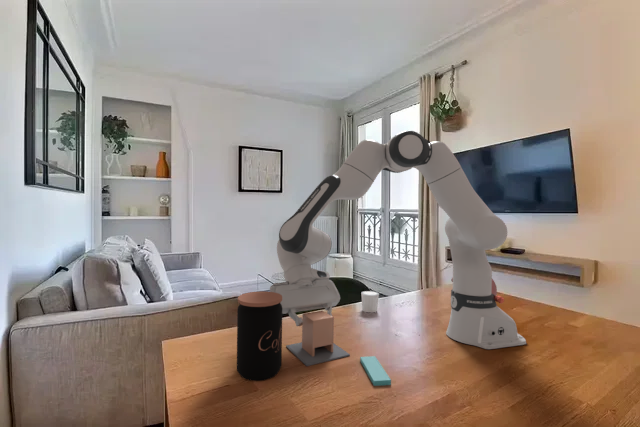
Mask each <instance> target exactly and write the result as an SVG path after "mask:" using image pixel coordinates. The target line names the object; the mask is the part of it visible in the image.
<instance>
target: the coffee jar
mask: <svg viewBox="0 0 640 427" xmlns="http://www.w3.org/2000/svg"><path fill="white" fill-rule="evenodd" d="M281 301H282V295H280V294H279V293H275V292H270V291H250V292H245V293H243V294H239V296H238V297H237V303H238V304H239V305H238V306H237V312H236V313H237V315H236V316H237V322H236V324H237V326H236V328H237V330H236V332H237V334H236V371H237V373H238V375H240V377H241V378H243V379H244V380H246V381H252V382H255V381H256V382H261V381H266V380H270V379H272V378H273V377H275V376H276V375H277V374H278V373H279V371H280V369H281V368H282V355H283V353H282V351H283V350H282V349H283V348H282V347H283V345H282V344H283V314H282V305H281V304H280V302H281Z"/></svg>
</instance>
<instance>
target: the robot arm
mask: <svg viewBox="0 0 640 427" xmlns="http://www.w3.org/2000/svg"><path fill="white" fill-rule="evenodd" d="M413 168H414V169H416V170H418V172H420V174H421V175H422V176H423V178H424V180H425V183H426V184H427V186H428V187H429V190H430V191H431V194H432V196H433V197H434V199H435V201H436V203H437V205H438V206H439V207H440V208H441V209H442V210H443V211H444V213H446V215H447V216H448V217H449V218H448V219H447V221H446V222H445V224H444V225H445V226H444V231H445V235H446V236H447V239H448V244H449V250H450V255H451V261H452V262H451V263H452V277H453V282H452V289H451V290H450V308H451V309H450V310H451V311H450V316H449V321H448V322H449V323H448V326H447V329H446V332H445V334H446V335H447V337H448V338H450V339H452V340H454V341H457V342H459V343H462V344H466V345H471V346H475V347H479V348H482V349H485V350H494V349H502V348H508V347H517V346H523V345H527V340H526V338H525V337H524V336H523V335H521V334H520V333H518V328H517V324H516V322H515V320H514V319H513V318H512V317H511V316H510V315H509V314H508V313H507V312H505V311H504V310H503V309H501V308H500V307H499V306H497V305H498V304H497V303H499V304H503V303H504V302H505V298H504V296H501V295H499V294H498V295H496V296H495V295H494V294H492V293H491V289H492V279H493V278H492V276H493V269H492V266H491V264H490V263H489V260H488V258H487V257H488V256H487V253H486V251H487V250H488V251H489V250H494V249H497V248H499V247H501V246H502V245H503V244H504V243H505V242H506V240H507V239H508V238H507V237H508V228H507V224H506V223H505V222H504V220H502V218H501V217H498V216H497V215H496V214H495V213H494V212H493V211H492V209H490V208H489V207H488V205H487V204H486V203H485V202H484V200H483V199H482V198H481V197H480V196H479V194H478V193H477V192H476V191H475V189H474V188H473V186H472V184H471V183H470V182H471V181H469V179H468V177H467V174H466V173H465V172H464V170H463V168H462V165H461V164H460V162H459V161H458V159H457V157H456V156H455V154H454V153H453V152H452V150H451V149H450V148H449V147H448V146H447V144H446V143H445V142H443V141H440V140H435V141H430V140H428V139H426V138H425V137H424V136H423V135H421V134H420V133H419V132H417V131H414V130H404V131H403V130H402V131H400V132H398V133H397V134H395V135H394V136H393V137H391V138H390V139H389V140H388V141H387V142H386V143H380V142H378V141H376V140H374V139H369V138H368V139H367V138H366V139H363V140H361V141H360V142H359V143H358V144H357V145H356V146H355V147H354V148H353V149H352V151H351V152H350V153H349V155H348V156H347V158H346V159H345V160H344V161H343V163H342V165H341V166H340V167H339V168H338V170H337V171H336V172H334V174H332V175H329V176H327V177H325V178H324V179H322V181H321V182H320V183H319V184H318V185H317V186H316V187H315V189H314V190H313V191H312V192H311V193H310V194H309V195H308V197H307V199H305V201H303V203H302V204H301V205H300V207H299V208H298V209H297V210H296V211H295V212H294V214H293V215H292V216H290V217H289V218H288V219H286V221H285V222H284V223H283V224H282V225H281V226H280V229H279V232H278V241H277V244H276V254H277V258H278V261H279V264H280V267H281V269H282V270H283V276H284V277H283V278H284V281H283V282H275V283H274V282H273V284H271V285H270V287H269V292H275V293H279V294H280V295H282V301H281V302H280V304H281V305H282V315H284V314H288V316H289V317H290V318H291V319H292V320H293V322H295V327H302V324H303V321H302V316H301V317H299V315H298V314H296V313H298V312H304V311H310V310H311V311H312V310H317V309H318V310H319V309H324V310H325V311H327V312H326V313H327V314H329V315H331V316H333V314H332V310H333V307H336V306H337V305H338V304H339V302H340V300H341V295H340V292H339V290H338V289H337V287H336V285H335V283H334V281H332V280H331V279H330V277H331V276H330V274H329V272H327V271H325V270H320V269H319V270H318V269H317V268H312V265H314V264H317V263H319V262H320V261H323V260H324V259H325V258H326V257H328V256H329V254H330V252H331V250H332V246H333V245H332V243H333V242H332V239H331V236H330V235H329V234H328V233H327V232H325V231H323V230H321V229H320V228H318V227H315V226H314V225H313V224H314V223H315V221H316V220H317V219H318V218H319V216H320V215H321V214H322V213H323V212H324V210H326V208H327V206H328V205H329V204H331V203H332V202H334V201H337V200H345V201H355V200H357V199H361V198H363V196H365V195H366V194H367V192H368V191H369V190H370V188H371V187H372V185H373V184H374V182H375V180H376V179H377V177H378V175H379V174H380V173H381V172H382V171H387V172H390V173H395V174H396V173H397V174H400V173H402V172H403V173H404V172H407V171H409V170H411V169H413Z"/></svg>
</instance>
